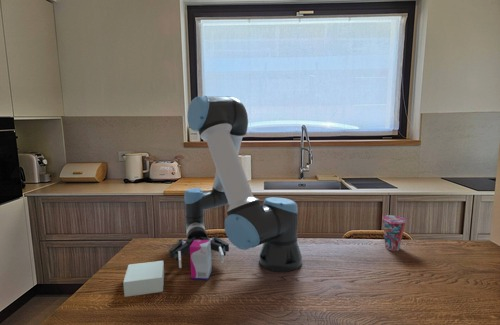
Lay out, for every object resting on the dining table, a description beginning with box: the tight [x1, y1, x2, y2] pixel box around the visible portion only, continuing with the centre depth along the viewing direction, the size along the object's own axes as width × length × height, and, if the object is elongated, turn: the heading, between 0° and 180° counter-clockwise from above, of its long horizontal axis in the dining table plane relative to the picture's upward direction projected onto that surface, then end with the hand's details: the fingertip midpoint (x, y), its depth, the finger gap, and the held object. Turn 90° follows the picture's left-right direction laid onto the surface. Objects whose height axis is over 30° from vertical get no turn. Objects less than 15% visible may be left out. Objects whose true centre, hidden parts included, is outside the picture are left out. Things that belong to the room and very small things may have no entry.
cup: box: [382, 214, 407, 252], centre depth 122 cm, size 9×8×12 cm
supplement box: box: [189, 240, 213, 281], centre depth 105 cm, size 6×6×12 cm
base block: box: [123, 260, 165, 298], centre depth 100 cm, size 11×11×5 cm
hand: (201, 261), depth 102 cm, fingers open, 13 cm apart
